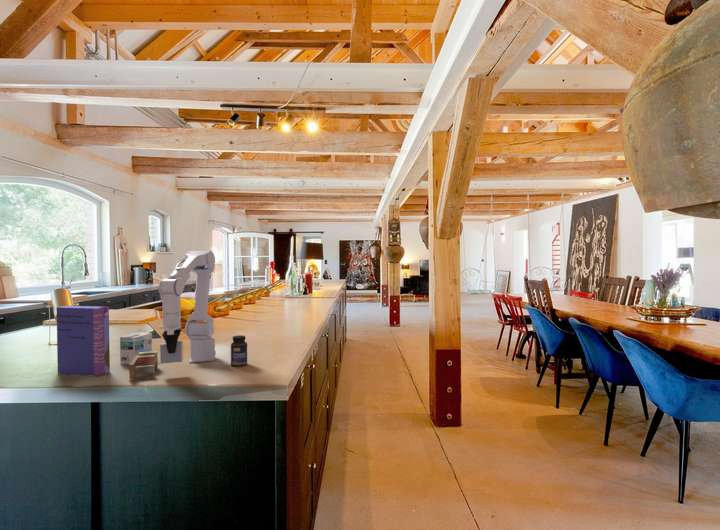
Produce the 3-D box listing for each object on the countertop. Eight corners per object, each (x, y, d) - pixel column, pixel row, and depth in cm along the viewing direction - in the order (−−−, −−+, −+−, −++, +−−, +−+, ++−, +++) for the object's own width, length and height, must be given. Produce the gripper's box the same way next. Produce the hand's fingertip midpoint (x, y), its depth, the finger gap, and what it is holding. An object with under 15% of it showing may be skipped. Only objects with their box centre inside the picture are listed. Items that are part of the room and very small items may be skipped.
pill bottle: (232, 367, 152) (232, 338, 152) (229, 364, 158) (229, 335, 158) (249, 365, 155) (248, 337, 155) (245, 362, 161) (245, 334, 160)
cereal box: (109, 372, 147) (108, 306, 147) (98, 376, 143) (97, 307, 142) (69, 369, 151) (68, 305, 150) (57, 373, 146) (56, 306, 146)
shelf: (157, 367, 153) (157, 350, 153) (153, 378, 139) (153, 359, 139) (136, 369, 150) (135, 352, 150) (129, 381, 137) (129, 361, 136)
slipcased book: (183, 359, 146) (182, 340, 145) (182, 361, 142) (182, 343, 142) (161, 361, 143) (161, 342, 143) (160, 363, 140) (160, 344, 139)
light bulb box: (135, 365, 157) (134, 337, 157) (119, 364, 158) (119, 336, 158) (153, 358, 168) (152, 332, 168) (138, 357, 169) (137, 331, 168)
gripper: (160, 311, 148) (161, 348, 148) (156, 316, 134) (157, 357, 134) (182, 310, 150) (182, 346, 150) (180, 315, 137) (180, 355, 137)
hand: (172, 351), depth 143 cm, fingers closed on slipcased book, 4 cm apart
